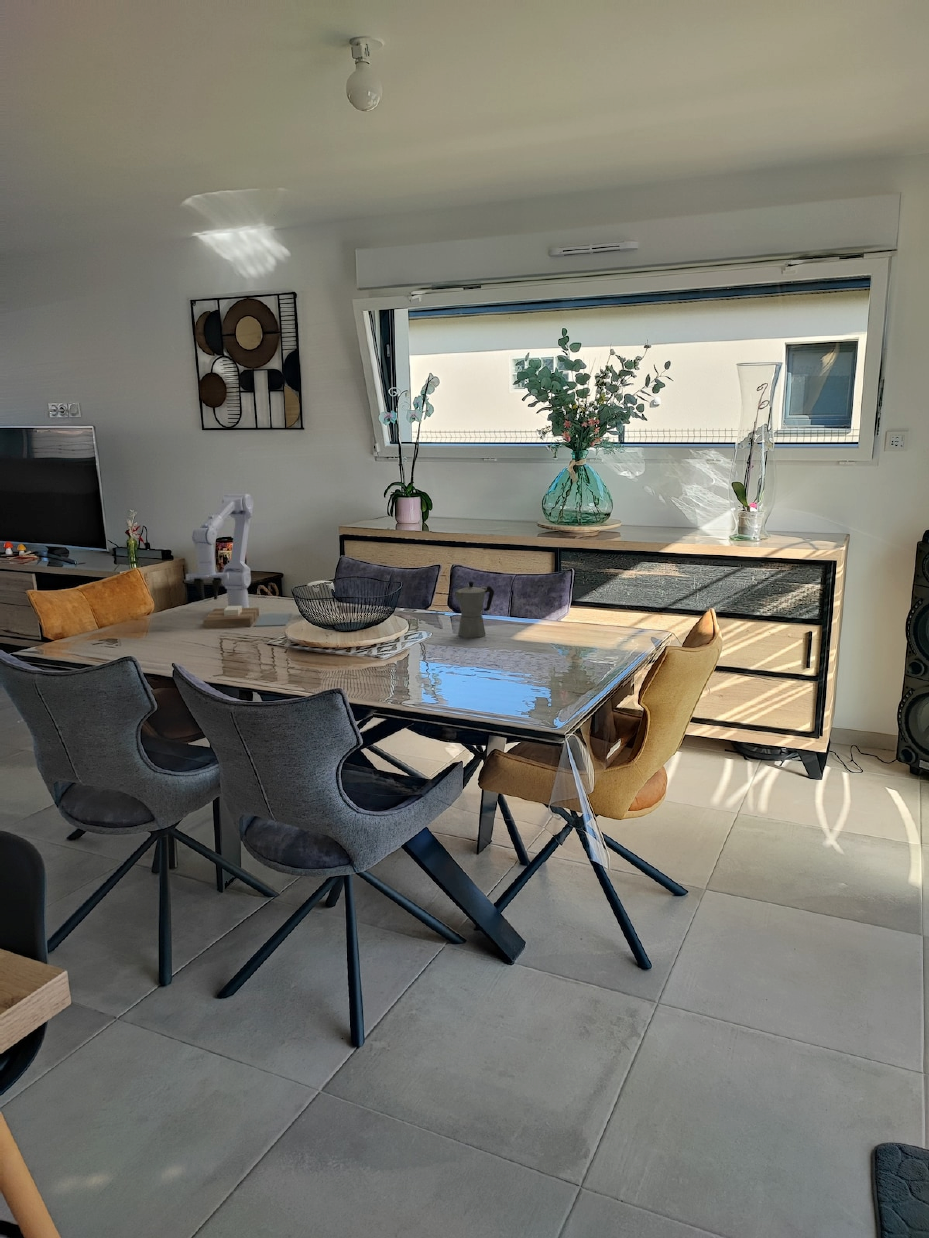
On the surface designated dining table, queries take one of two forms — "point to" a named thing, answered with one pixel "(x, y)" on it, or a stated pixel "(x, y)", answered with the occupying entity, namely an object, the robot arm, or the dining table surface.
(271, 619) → the mat
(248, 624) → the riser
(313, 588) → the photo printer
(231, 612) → the tile
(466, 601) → the coffeepot
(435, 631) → the dining table surface
